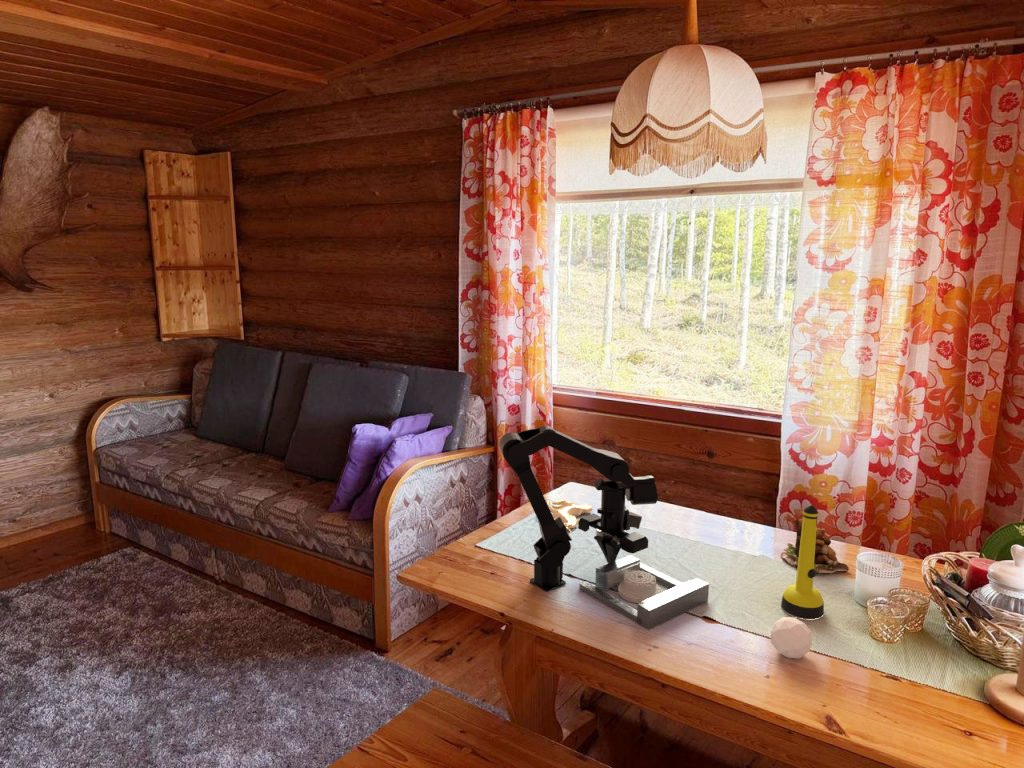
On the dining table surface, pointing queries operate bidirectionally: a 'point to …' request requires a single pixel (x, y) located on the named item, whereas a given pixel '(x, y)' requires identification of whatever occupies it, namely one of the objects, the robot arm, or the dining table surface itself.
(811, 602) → the flashlight
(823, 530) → the mossy log pile
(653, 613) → the vise
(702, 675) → the dining table surface
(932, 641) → the dining table surface
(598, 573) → the block
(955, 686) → the dining table surface
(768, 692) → the dining table surface
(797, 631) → the ball
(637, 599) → the mechanical component
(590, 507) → the unicorn
